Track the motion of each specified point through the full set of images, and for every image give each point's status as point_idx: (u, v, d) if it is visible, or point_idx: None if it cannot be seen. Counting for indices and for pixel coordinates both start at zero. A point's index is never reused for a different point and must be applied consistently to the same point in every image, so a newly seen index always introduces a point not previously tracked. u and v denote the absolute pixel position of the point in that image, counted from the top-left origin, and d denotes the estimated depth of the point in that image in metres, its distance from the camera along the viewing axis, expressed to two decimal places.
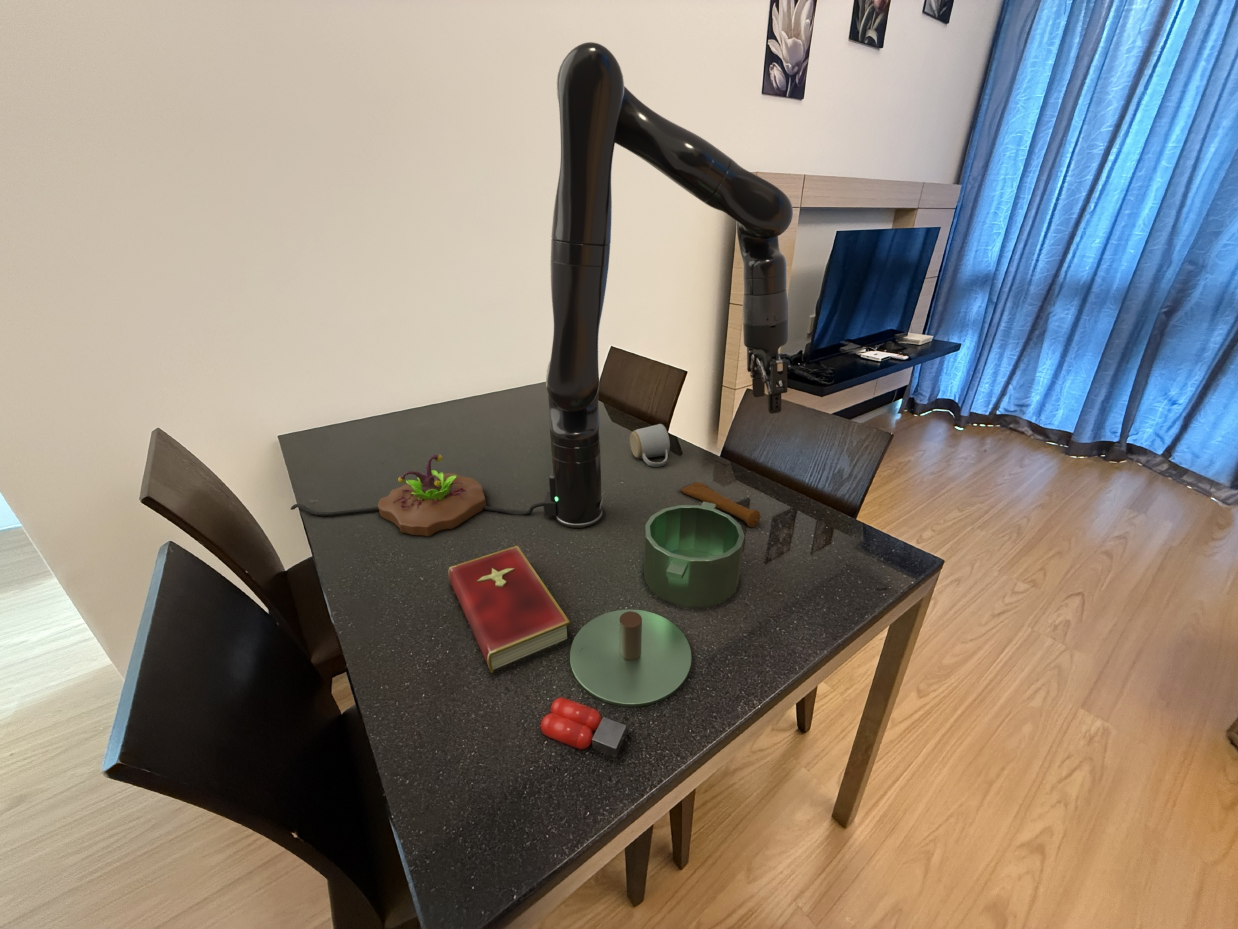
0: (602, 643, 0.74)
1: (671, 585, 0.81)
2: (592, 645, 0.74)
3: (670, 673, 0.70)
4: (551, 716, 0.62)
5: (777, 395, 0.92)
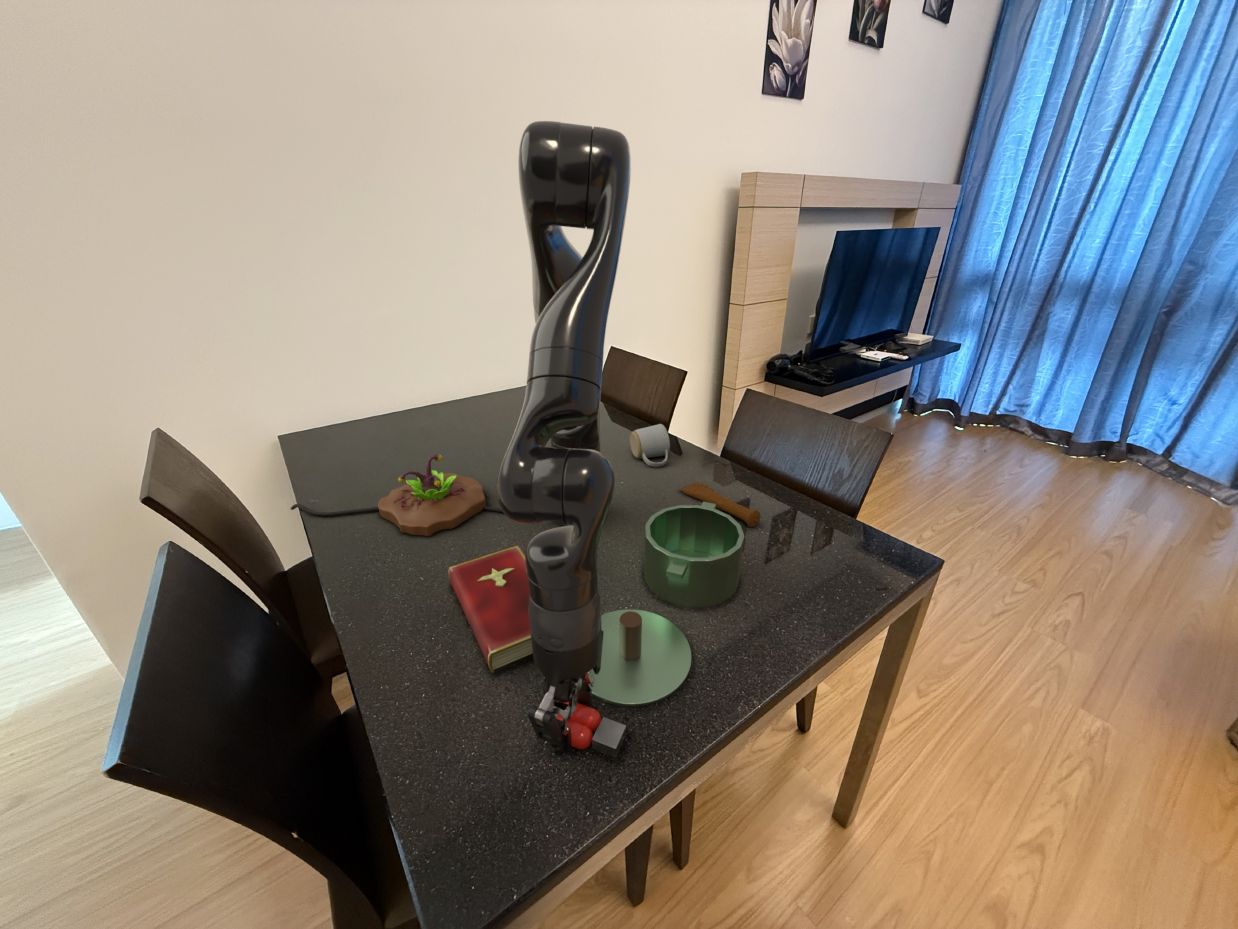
0: None
1: (671, 585, 0.81)
2: None
3: (670, 673, 0.70)
4: None
5: None
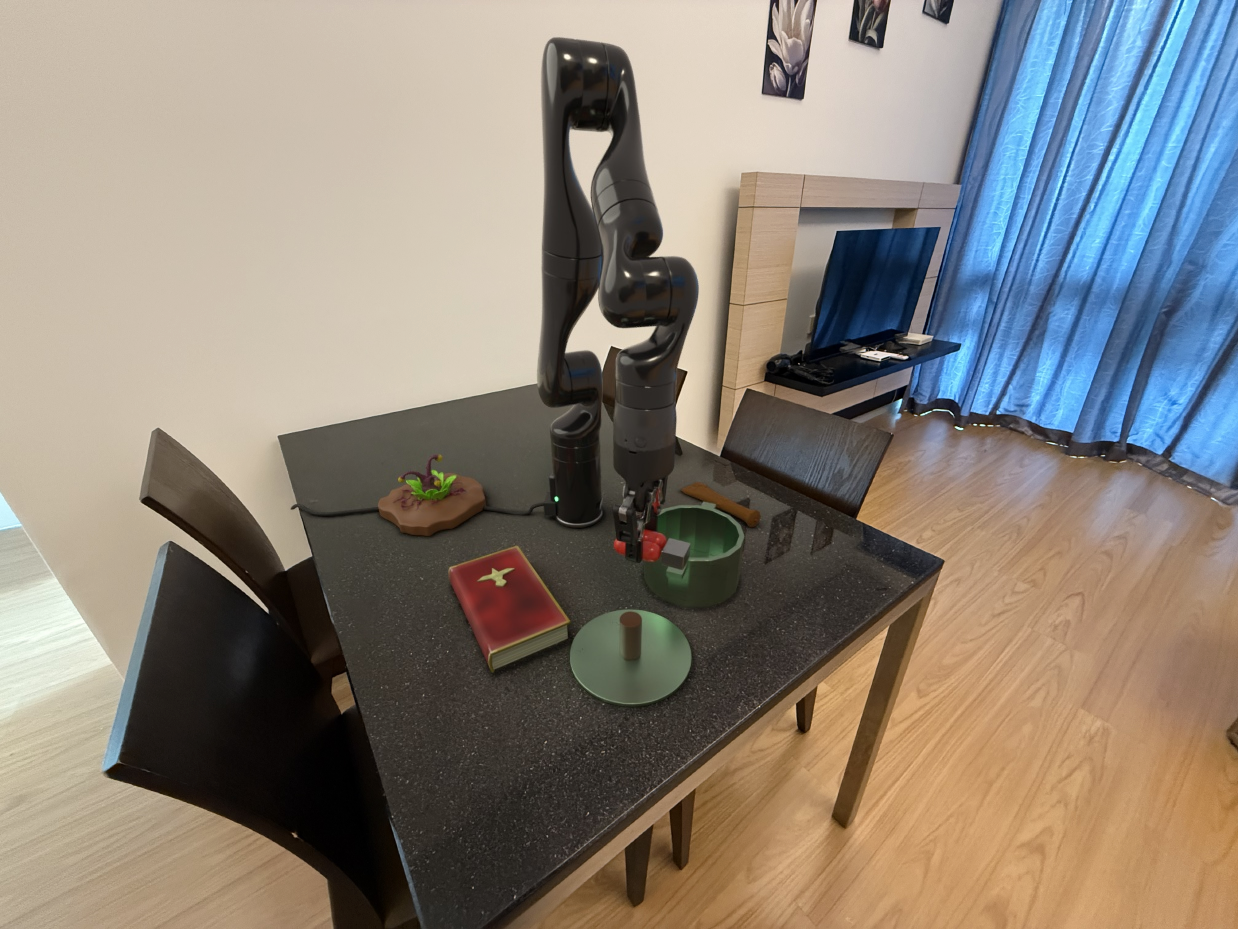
0: (602, 643, 0.74)
1: (671, 585, 0.81)
2: (592, 645, 0.74)
3: (670, 673, 0.70)
4: None
5: None
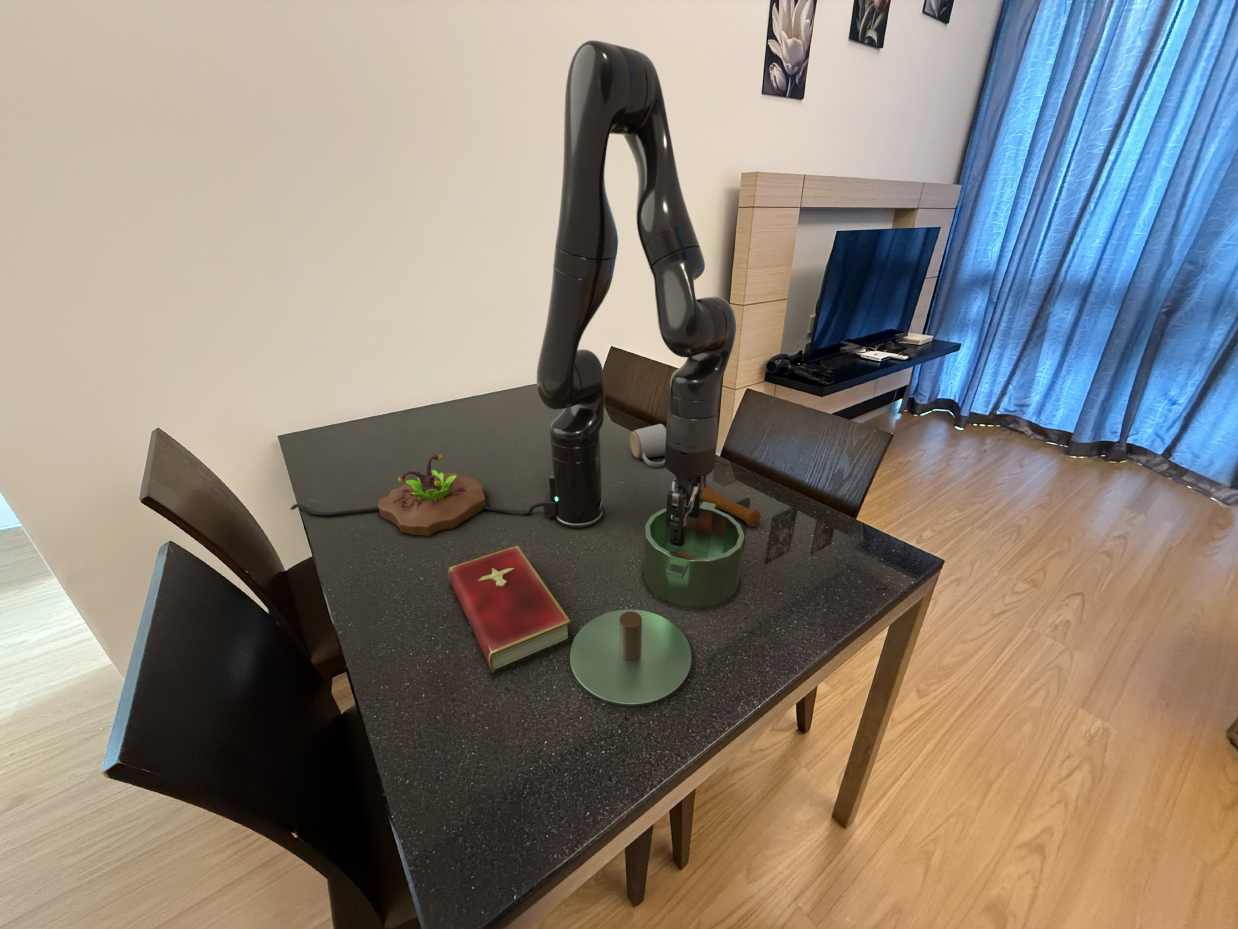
0: (602, 643, 0.74)
1: (671, 585, 0.81)
2: (592, 645, 0.74)
3: (670, 673, 0.70)
4: None
5: (677, 528, 0.79)
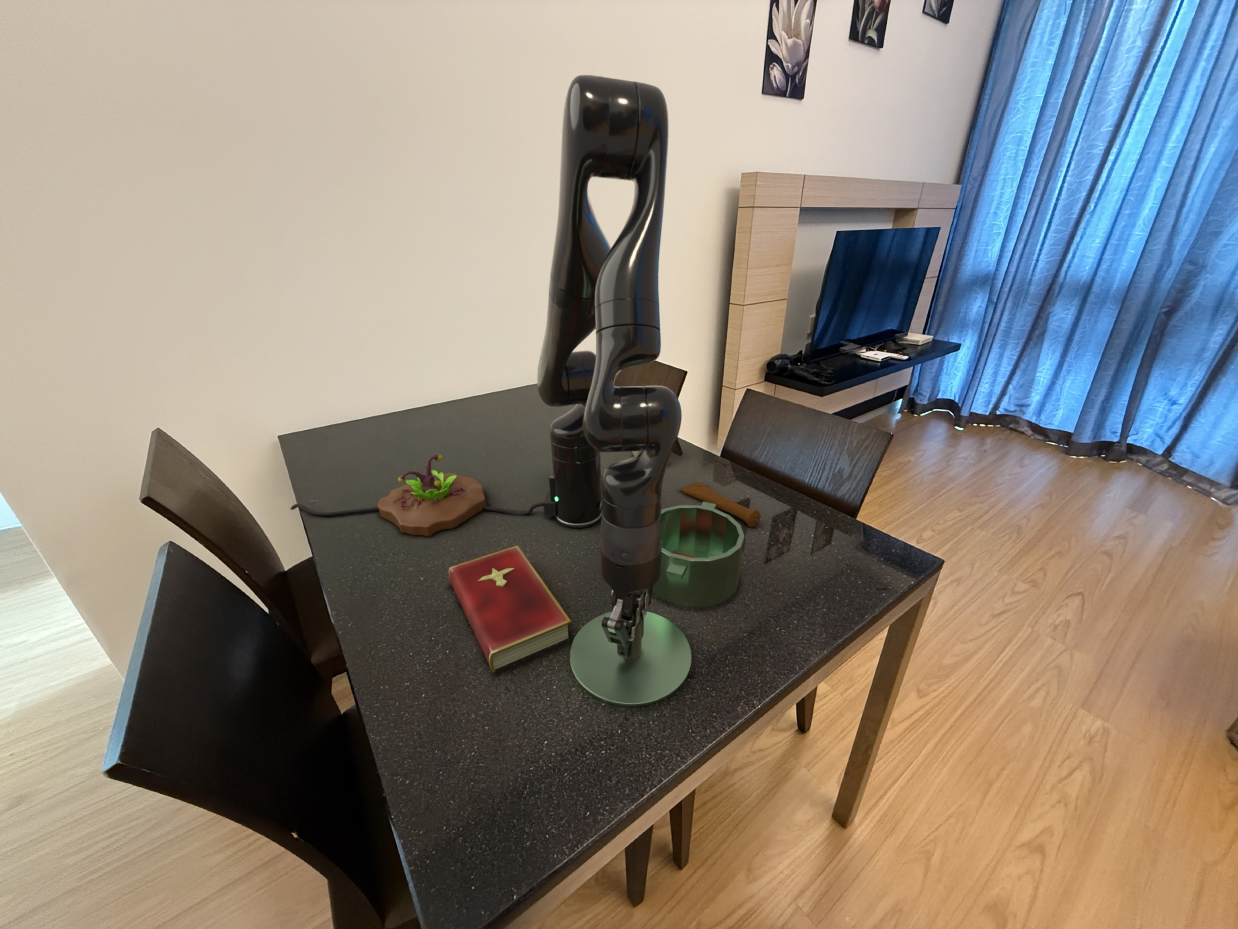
0: (602, 643, 0.74)
1: (671, 585, 0.81)
2: (592, 645, 0.74)
3: (670, 673, 0.70)
4: None
5: None
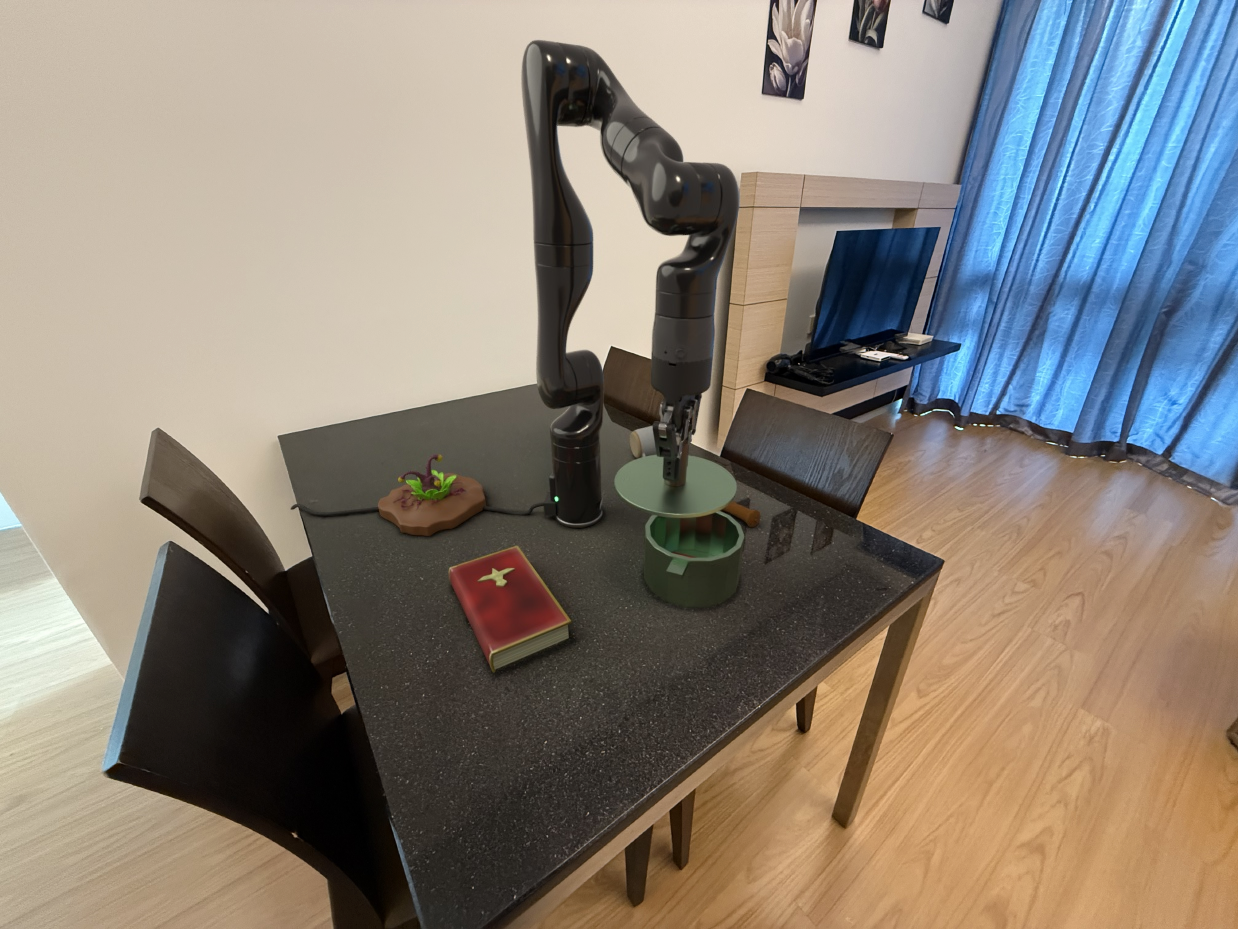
0: (645, 475, 0.74)
1: (671, 585, 0.81)
2: (635, 476, 0.74)
3: (717, 495, 0.69)
4: None
5: (670, 459, 0.68)
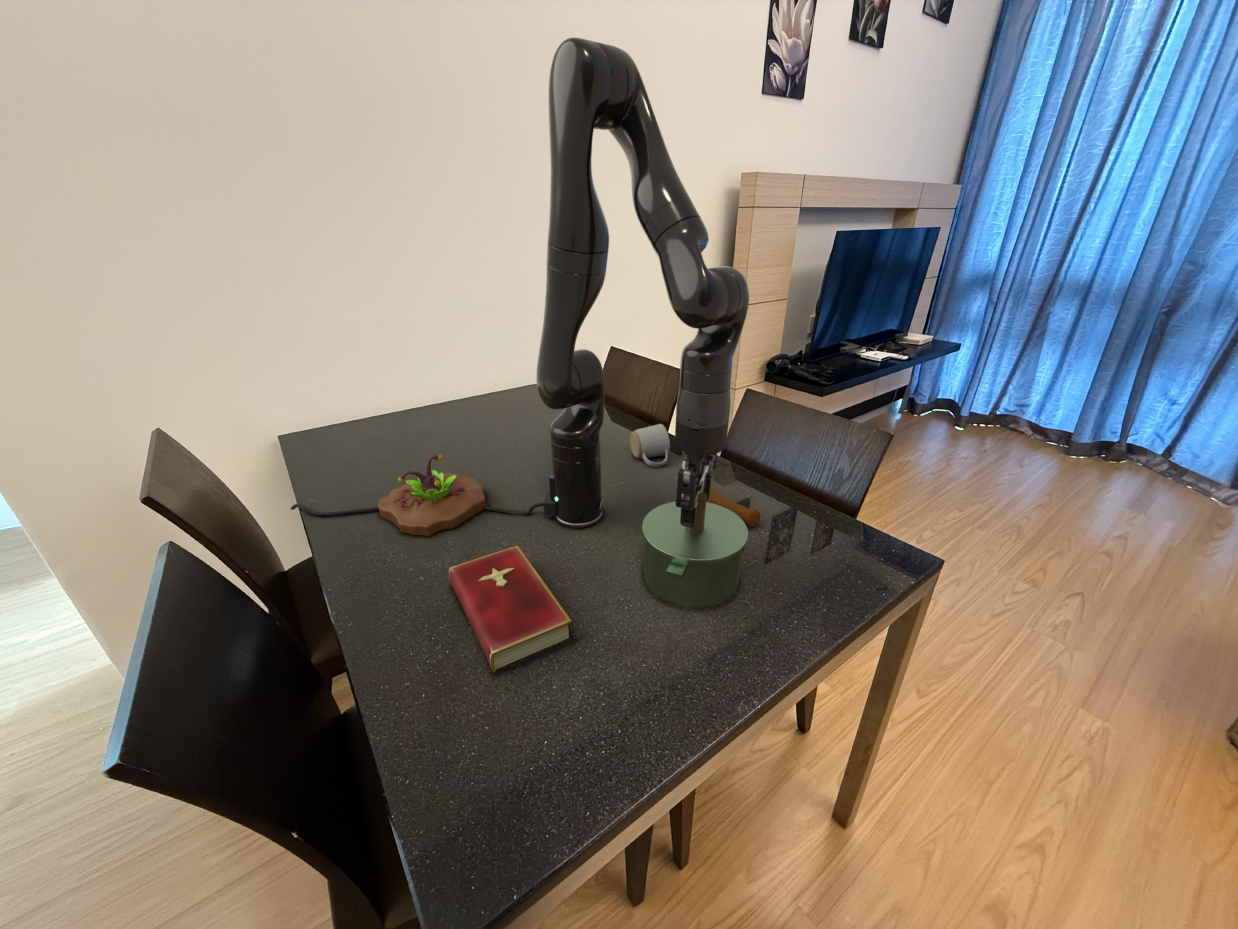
0: (668, 522, 0.86)
1: (671, 585, 0.81)
2: (660, 523, 0.85)
3: (731, 541, 0.81)
4: None
5: (687, 508, 0.77)
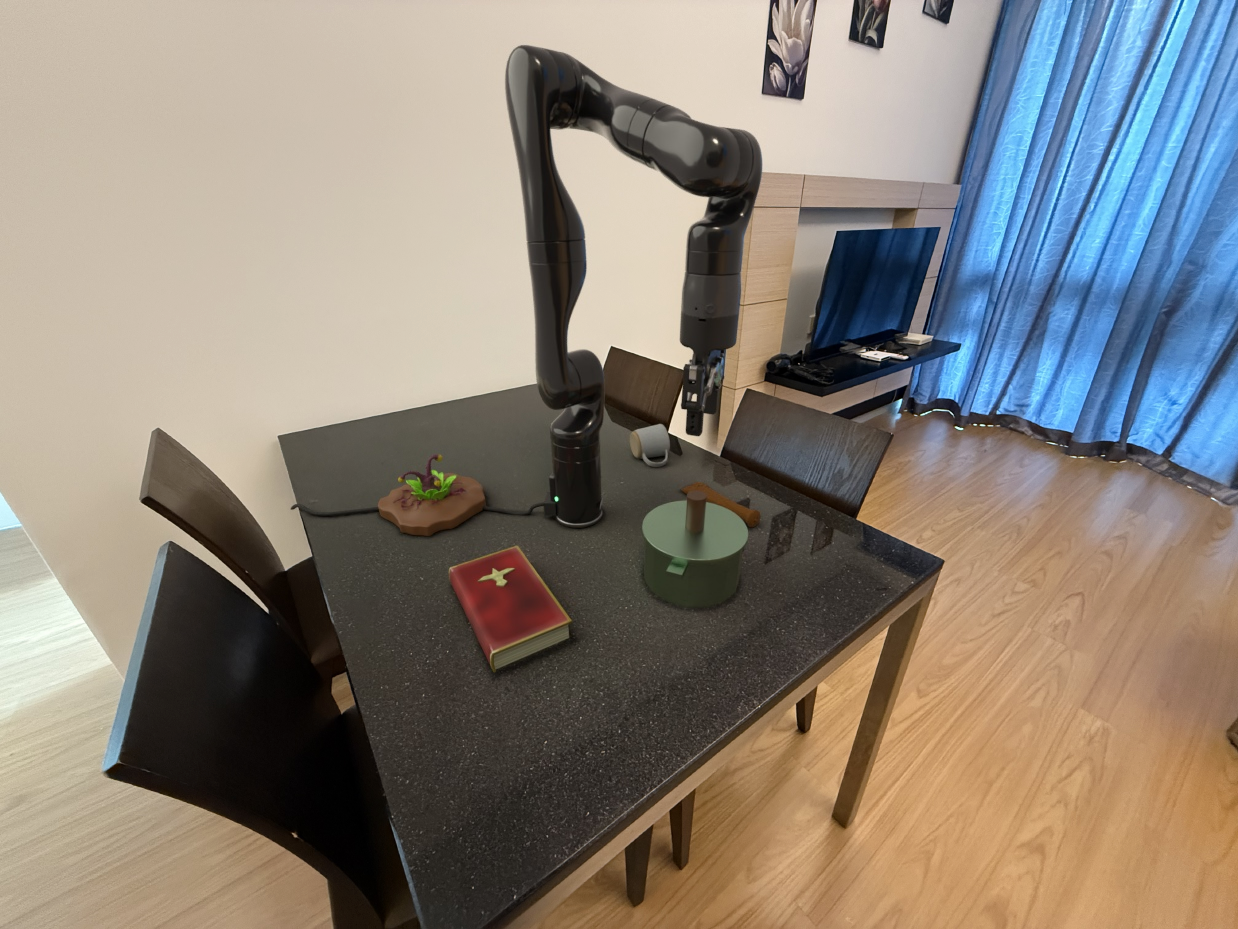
0: (668, 522, 0.86)
1: (671, 585, 0.81)
2: (660, 523, 0.85)
3: (731, 541, 0.81)
4: None
5: (694, 412, 0.70)
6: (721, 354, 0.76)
